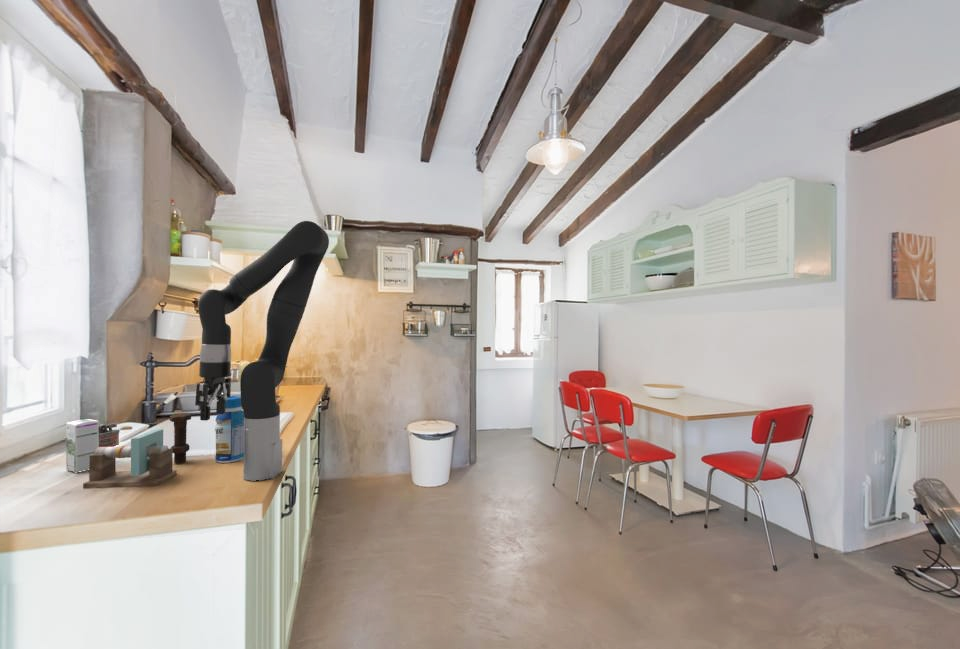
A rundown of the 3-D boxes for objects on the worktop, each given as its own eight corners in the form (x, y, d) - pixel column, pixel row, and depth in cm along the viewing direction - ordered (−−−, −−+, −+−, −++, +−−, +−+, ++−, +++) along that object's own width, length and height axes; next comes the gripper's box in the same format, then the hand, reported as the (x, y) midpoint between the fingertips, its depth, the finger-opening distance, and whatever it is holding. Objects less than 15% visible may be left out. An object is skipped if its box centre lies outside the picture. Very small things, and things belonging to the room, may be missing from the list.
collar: (163, 463, 122) (163, 429, 122) (138, 475, 112) (139, 438, 112) (155, 463, 122) (155, 429, 122) (130, 476, 112) (131, 438, 112)
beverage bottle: (246, 460, 134) (246, 398, 134) (214, 465, 130) (215, 400, 130) (244, 454, 141) (244, 394, 141) (214, 458, 137) (215, 396, 137)
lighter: (89, 458, 136) (89, 427, 136) (86, 456, 137) (86, 426, 137) (121, 452, 142) (121, 422, 143) (117, 450, 144) (117, 421, 144)
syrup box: (99, 467, 127) (100, 419, 127) (74, 474, 122) (74, 424, 122) (90, 465, 129) (90, 418, 129) (64, 471, 124) (65, 422, 124)
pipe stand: (176, 474, 122) (176, 440, 122) (156, 485, 113) (156, 450, 113) (109, 475, 120) (109, 442, 120) (83, 488, 111) (83, 451, 111)
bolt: (178, 466, 129) (178, 417, 129) (164, 465, 130) (165, 416, 130) (194, 460, 134) (195, 413, 135) (181, 459, 136) (182, 412, 136)
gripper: (216, 362, 113) (214, 422, 113) (240, 358, 127) (238, 412, 127) (186, 361, 112) (184, 422, 112) (214, 357, 127) (212, 411, 127)
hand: (213, 416), depth 120 cm, fingers open, 8 cm apart
